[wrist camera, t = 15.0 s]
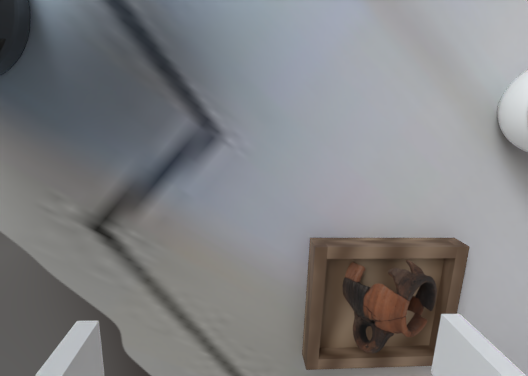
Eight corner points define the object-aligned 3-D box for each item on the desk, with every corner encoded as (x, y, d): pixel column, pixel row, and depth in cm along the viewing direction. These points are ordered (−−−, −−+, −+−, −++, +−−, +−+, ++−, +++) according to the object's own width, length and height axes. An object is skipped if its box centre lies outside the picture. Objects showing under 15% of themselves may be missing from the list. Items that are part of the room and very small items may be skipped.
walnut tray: (302, 353, 44) (306, 369, 42) (310, 237, 40) (315, 247, 38) (434, 350, 46) (446, 365, 43) (454, 237, 42) (469, 246, 39)
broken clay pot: (354, 237, 41) (417, 261, 34) (391, 255, 46) (451, 278, 40) (318, 328, 40) (375, 371, 33) (359, 335, 45) (415, 373, 39)
